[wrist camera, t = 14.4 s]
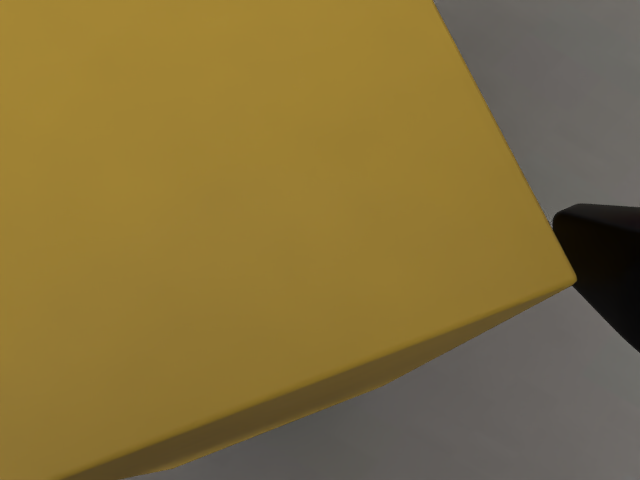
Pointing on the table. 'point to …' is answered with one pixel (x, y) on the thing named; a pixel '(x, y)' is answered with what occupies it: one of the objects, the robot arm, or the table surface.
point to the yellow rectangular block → (239, 221)
